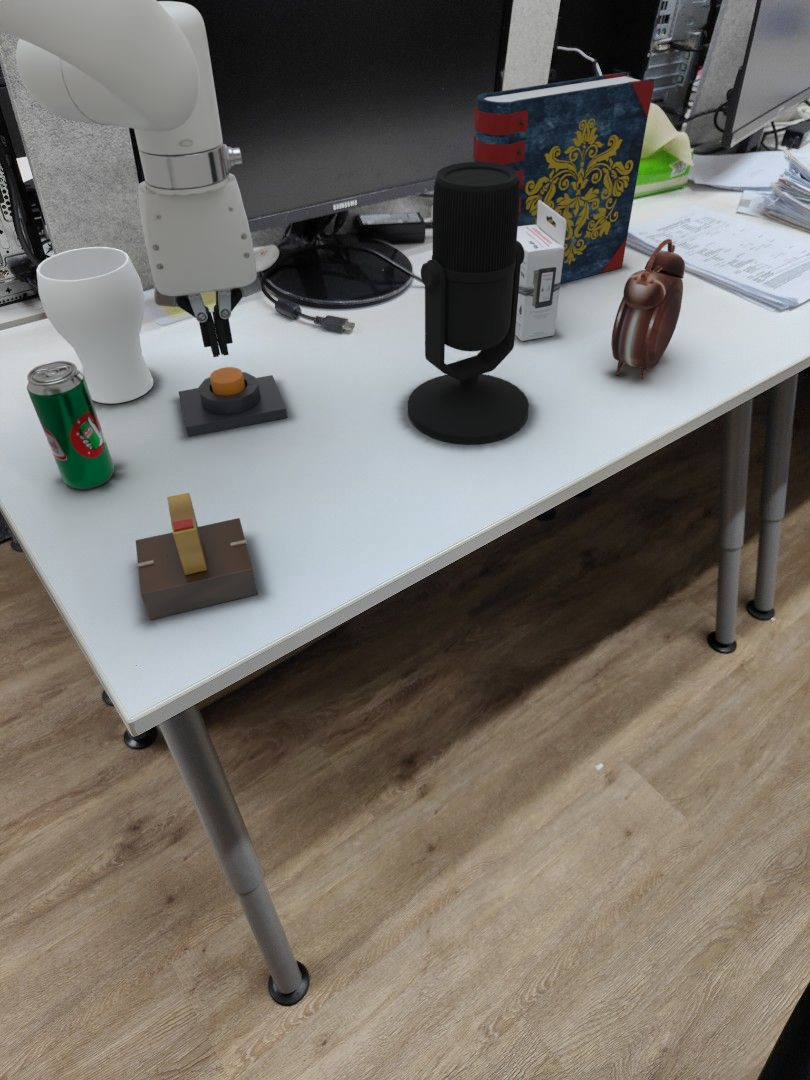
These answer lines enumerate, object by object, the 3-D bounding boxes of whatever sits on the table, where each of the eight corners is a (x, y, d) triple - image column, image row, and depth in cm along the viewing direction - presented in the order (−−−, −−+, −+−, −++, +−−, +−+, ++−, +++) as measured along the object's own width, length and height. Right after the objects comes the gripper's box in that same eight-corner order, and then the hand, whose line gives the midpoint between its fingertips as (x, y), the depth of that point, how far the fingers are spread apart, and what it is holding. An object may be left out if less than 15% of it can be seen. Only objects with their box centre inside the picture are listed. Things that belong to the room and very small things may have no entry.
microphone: (484, 369, 93) (496, 145, 76) (553, 421, 84) (583, 180, 67) (386, 399, 88) (376, 167, 71) (448, 458, 79) (453, 208, 62)
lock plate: (148, 620, 63) (138, 593, 61) (142, 565, 68) (133, 538, 66) (259, 594, 65) (253, 567, 63) (245, 542, 70) (240, 515, 68)
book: (484, 306, 106) (495, 105, 89) (458, 288, 111) (463, 94, 94) (624, 269, 115) (658, 79, 98) (595, 253, 119) (622, 70, 103)
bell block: (188, 436, 83) (182, 412, 81) (180, 400, 89) (174, 377, 87) (287, 417, 85) (284, 394, 83) (273, 383, 91) (270, 361, 89)
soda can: (61, 470, 79) (20, 366, 71) (111, 457, 80) (77, 353, 72) (67, 497, 75) (24, 391, 67) (119, 484, 77) (84, 377, 69)
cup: (141, 415, 86) (104, 286, 76) (56, 406, 88) (9, 279, 78) (180, 369, 94) (151, 247, 84) (101, 362, 96) (64, 242, 86)
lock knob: (178, 537, 66) (166, 494, 63) (199, 532, 66) (188, 489, 63) (185, 575, 62) (172, 531, 59) (207, 570, 63) (195, 526, 59)
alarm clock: (636, 344, 97) (659, 223, 87) (673, 354, 95) (702, 231, 85) (601, 381, 90) (622, 254, 80) (640, 392, 88) (667, 264, 78)
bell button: (215, 399, 84) (212, 385, 82) (210, 383, 86) (207, 370, 85) (247, 393, 84) (245, 379, 83) (242, 378, 87) (240, 364, 86)
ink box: (495, 314, 104) (502, 202, 94) (528, 309, 105) (539, 197, 95) (520, 342, 98) (531, 225, 88) (556, 336, 99) (570, 220, 89)
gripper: (258, 149, 74) (281, 325, 86) (99, 164, 71) (145, 346, 83) (273, 169, 69) (295, 355, 81) (101, 187, 65) (150, 378, 77)
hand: (219, 350), depth 82 cm, fingers closed
